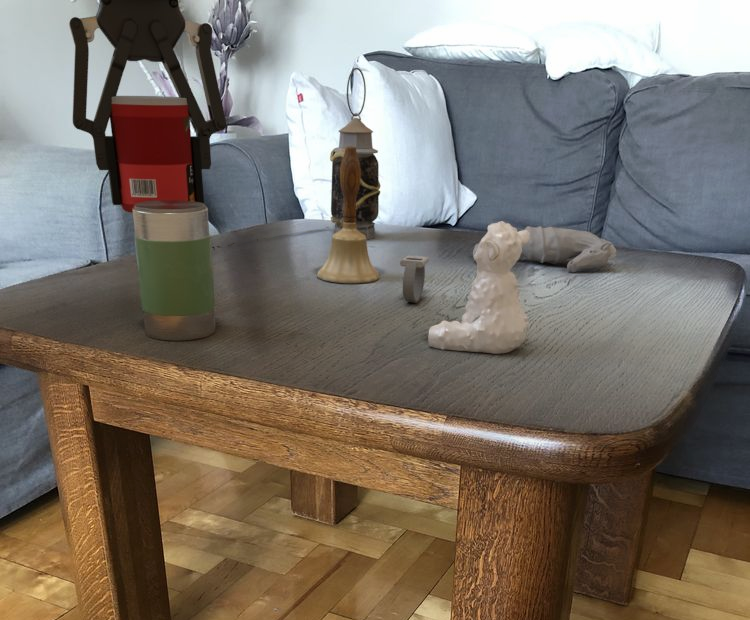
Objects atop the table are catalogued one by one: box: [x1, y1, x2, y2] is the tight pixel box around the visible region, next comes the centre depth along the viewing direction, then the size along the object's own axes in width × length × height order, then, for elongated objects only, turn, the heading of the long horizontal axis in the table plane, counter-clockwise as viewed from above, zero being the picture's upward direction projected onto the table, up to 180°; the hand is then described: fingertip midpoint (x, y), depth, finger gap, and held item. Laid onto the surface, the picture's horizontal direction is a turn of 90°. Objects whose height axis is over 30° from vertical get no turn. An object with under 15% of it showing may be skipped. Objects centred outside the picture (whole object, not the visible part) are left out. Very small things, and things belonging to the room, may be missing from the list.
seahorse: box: [472, 225, 617, 273], centre depth 118 cm, size 5×12×20 cm
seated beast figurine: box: [427, 220, 530, 355], centre depth 79 cm, size 10×9×12 cm
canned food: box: [109, 95, 195, 214], centre depth 86 cm, size 8×8×11 cm
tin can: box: [132, 200, 216, 342], centre depth 81 cm, size 7×7×12 cm
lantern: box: [329, 67, 381, 241], centre depth 131 cm, size 9×8×25 cm
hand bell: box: [316, 146, 381, 285], centre depth 105 cm, size 8×8×16 cm
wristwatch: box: [399, 255, 430, 304], centre depth 96 cm, size 6×3×5 cm, turn 164°
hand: (158, 202), depth 89 cm, fingers closed on canned food, 8 cm apart
